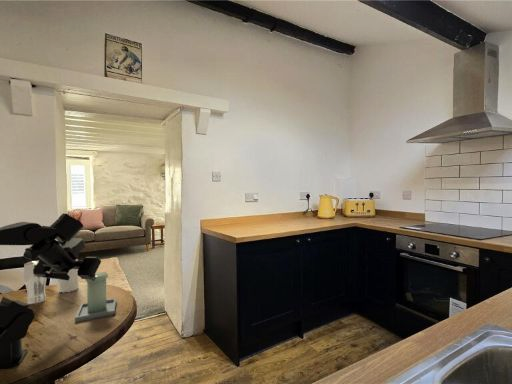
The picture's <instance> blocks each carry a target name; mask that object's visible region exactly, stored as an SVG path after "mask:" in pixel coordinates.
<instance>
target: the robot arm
mask: <svg viewBox="0 0 512 384" xmlns="http://www.w3.org/2000/svg"><path fill="white" fill-rule="evenodd" d="M83 228H84V224H83V223H82V222H81V221H80V220H78V219H76V218H75V217H73V216H71V215H70V214H68V213H62V214H61V215H60V216H59V217H58V218H57V219H56V220H55V221H54V222H53V223H52V224H51V225H48V226H46V225H41V224H40V223H37V222H36V223H35V222H27V221H19V222H15V223H11V224H8V225H7V224H6V225H4V226H1V227H0V246H29V247H26V248H25V250H24V252H23V255H22V257H23V258H25V259H28V260H30V261H35V260H36V259H37V258H39V262H38V263H37V265H36V266H35V268H34V269H33V274H34V275H36V276H37V277H43V278H47V279H52V280H53V279H54V280H55V279H56V280H58V279H61V280H69V278H70V277H69V275H68V272H69V270H71V269H78V271H77V275H78V278H80V279H81V280H85V279H86V280H90V281H95V279H96V275H95V273H97V271H98V269H99V267H100V265H101V264H102V261H101V259H100V258H99V256H86V257H84V258H83V260H78V261H75V260H76V259H79V257H80V255H79V253H80V252H81V251H82V250H83V249H85V248H86V245H85V242H84V240H83V238H79V237H77V238H76V237H75V236H76V235H78V233H79V232H81V230H82V229H83ZM86 280H85V281H86ZM30 305H31V304H27V303H25V302H24V301H22V300H18V299H17V300H16V299H15V300H12V299H10V298H7V297H5V296H3V297H2V298H1V300H0V370H1V369H5V368H10V367H14V366H18V365H20V364H21V362H22V360H24V358H25V356H26V354H27V353H28V349H27V348H26V349H23V339H25V338H26V336H27V334H28V330H29V327H30V326H31V324H32V323H33V322H34V319H35V312H34V310H33V309H32V308H30Z"/></svg>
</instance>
